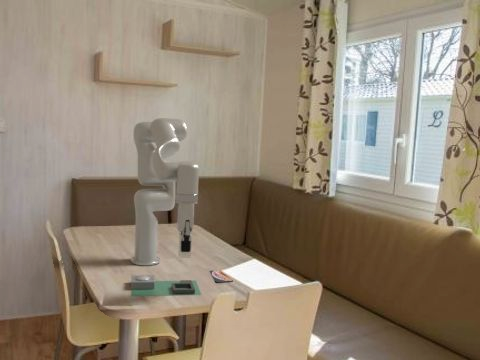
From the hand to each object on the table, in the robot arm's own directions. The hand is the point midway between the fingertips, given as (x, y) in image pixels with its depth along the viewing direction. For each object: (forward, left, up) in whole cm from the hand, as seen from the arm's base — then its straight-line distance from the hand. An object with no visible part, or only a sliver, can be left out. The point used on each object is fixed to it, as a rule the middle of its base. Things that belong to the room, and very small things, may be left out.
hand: (184, 249), depth 176 cm
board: (-3, -6, -16) cm, 18 cm away
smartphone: (-19, +16, -17) cm, 30 cm away
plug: (0, 0, -2) cm, 2 cm away
